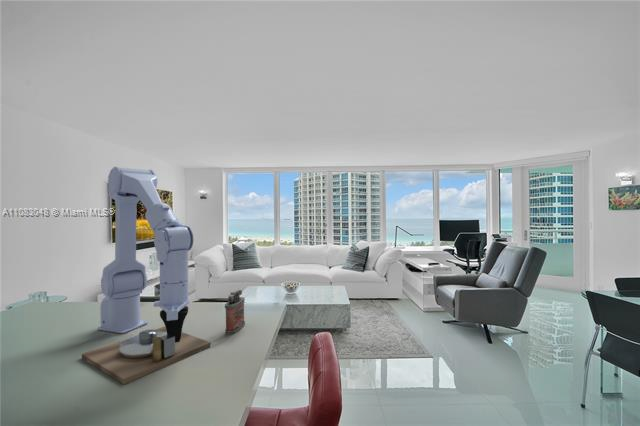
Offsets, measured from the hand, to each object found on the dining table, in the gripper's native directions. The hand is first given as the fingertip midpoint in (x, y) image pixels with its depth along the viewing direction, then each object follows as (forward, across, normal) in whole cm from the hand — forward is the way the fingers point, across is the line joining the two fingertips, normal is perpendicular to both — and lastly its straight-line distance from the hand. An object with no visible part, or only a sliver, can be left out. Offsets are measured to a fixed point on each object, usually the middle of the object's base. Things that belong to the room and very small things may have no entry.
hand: (174, 341), depth 70 cm
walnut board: (+3, -4, -6) cm, 8 cm away
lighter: (+3, -11, +14) cm, 18 cm away
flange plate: (+2, -3, -5) cm, 6 cm away
